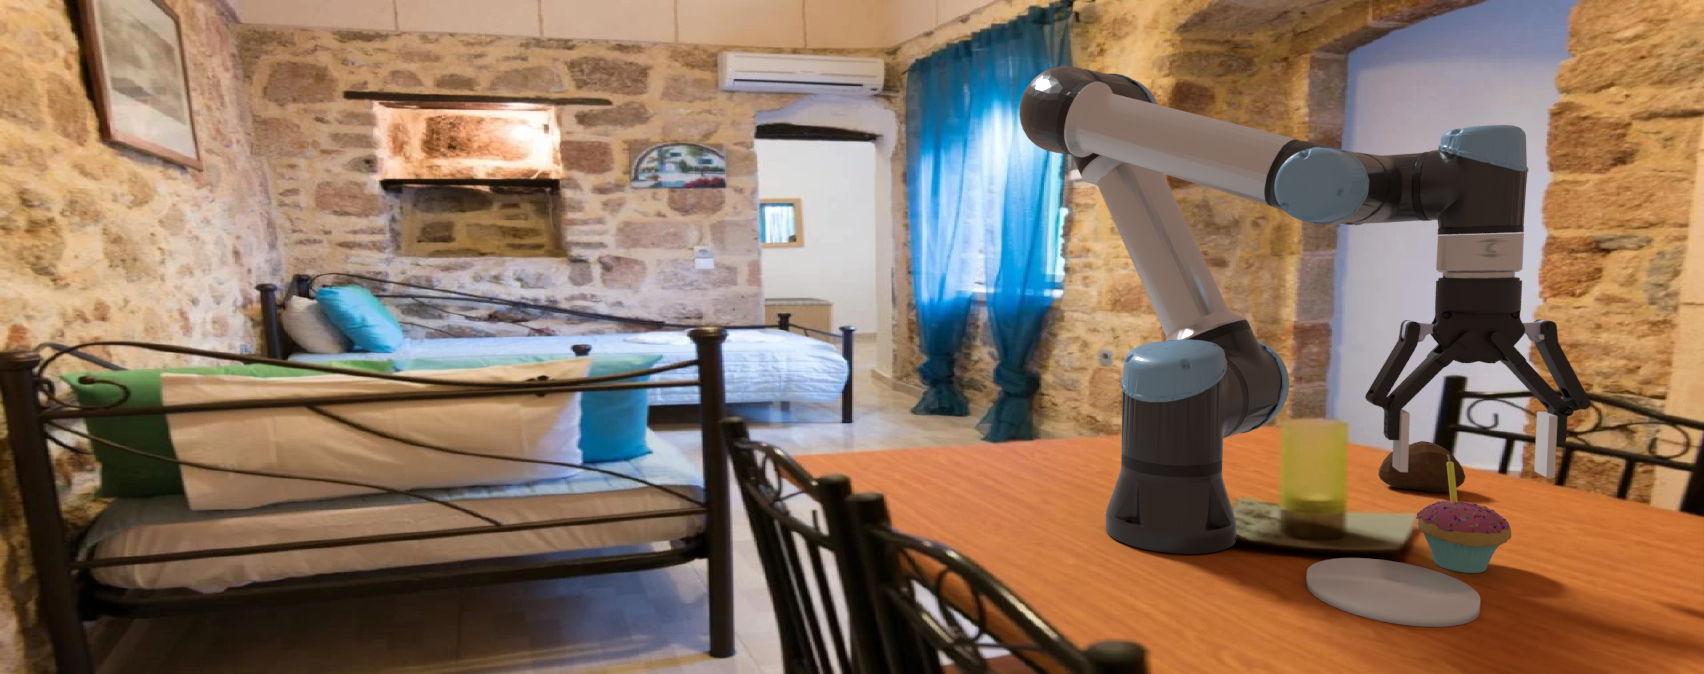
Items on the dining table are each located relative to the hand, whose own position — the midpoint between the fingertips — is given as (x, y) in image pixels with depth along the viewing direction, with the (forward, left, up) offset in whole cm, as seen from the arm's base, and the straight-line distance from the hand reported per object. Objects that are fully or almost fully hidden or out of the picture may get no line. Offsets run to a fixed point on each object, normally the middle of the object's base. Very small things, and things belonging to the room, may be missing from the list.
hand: (1470, 472), depth 97 cm
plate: (-10, -11, -11) cm, 18 cm away
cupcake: (0, 0, -11) cm, 11 cm away
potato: (+5, +33, -11) cm, 35 cm away
